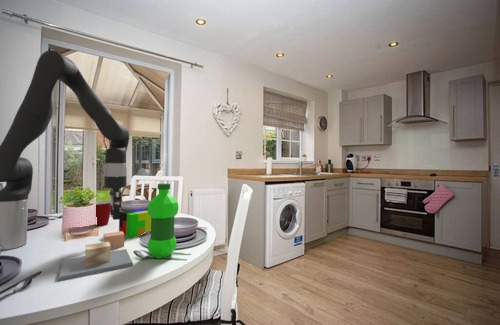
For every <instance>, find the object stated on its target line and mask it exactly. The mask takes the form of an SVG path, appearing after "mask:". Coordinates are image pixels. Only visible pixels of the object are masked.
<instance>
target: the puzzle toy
mask: <svg viewBox="0 0 500 325" xmlns="http://www.w3.org/2000/svg"><path fill="white" fill-rule="evenodd" d="M149 230H151V217H150V216H149V215H148V211H147V210H146V209H143V208H137V209H129V210H123V211H121V210H120V219H118V232H120V231H122V232H123V233H124V237H126V236H127V238H130V239H132V238H131V237H133V238H136V237H135V236H137V237H140V235H141V234H143V233H144V232H147V231H149ZM141 236H142V235H141Z"/></svg>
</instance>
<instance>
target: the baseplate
mask: <svg viewBox="0 0 500 325" xmlns="http://www.w3.org/2000/svg"><path fill="white" fill-rule="evenodd" d="M133 264H134V263H133V260H132V258H131V256H130V254H129V252H128V250H127V248H125V249H117V250H110V262H104V263H99V264H94V265H88V266H85V255H82V256H76V257H71V258H70V257H69V258H64V259H62V260H61V266H60V271H59V276H58V281H59V282H60V281H64V280H69V279H74V278H75V279H76V278H79V277H83V276H84V277H85V276H89V275H93V274H98V273H104V272H107V271H112V270H113V271H114V270H117V269H123V268H128V267H133Z"/></svg>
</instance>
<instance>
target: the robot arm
mask: <svg viewBox="0 0 500 325" xmlns="http://www.w3.org/2000/svg"><path fill="white" fill-rule="evenodd" d="M57 81H60V82H62V83H63V84H65V85H66V87H68V88H69V89H70V90H72V92H73V93H74V95H75V96H76V98H77V100H78V102H79V105H80V106H81V108H82V109H83V110H84V112H85V113H86V114H87V115H88V116H89V118H90V119H91V120H92V121H93V122H94V123H95V125H96V127H97V129H98V130H99V132H100V133H101V135H102V136H103V137H104V138H106V139H107V140H108V141H110V144H109V148H107V149H106V150H105V160H104V161H105V162H104V163H105V164H104V175H103V176H104V177H103V182H104V184H103V187H104V188H105V189H109V193H108V196H109V199H108V201H109V202H110V206H111V213H110V216H112V220H113V221H117V220H119V219H120V212H121V209H122V206H123V205H122V202H123V201H122V195H123V194H122V193H123V192H122V191H121V190H120V189H121V188H122V189H123V188H126V187H127V178H128V168H127V152H128V147H129V143H130V131H129V129H128V128H127V127H126V126H124V125H123V124H120V123H119V122H117V120H116V119H115V117H113V113H112V111H111V110H110V109H109V107H107V106H106V104H105V103H104V102H103V101H102V99H101V98H100V97H99V96H98V95H97V94H96V93H95V91H94V90H93V89H92V87H91V86H90V85H89V83H88V82H87V81H86V79H85V77H84V76H83V74H82V72H81V71H80V69H79V68H78V66H77V65H76V64H75V62H74V61H73V60H71V58H69V57H67V56H65V55H64V54H62V53H60V52H59V51H57V50H52V49H51V50H50V49H49V50H46V51H44V52H42V54H41V55H40V56H39V58H38V60H37V63H36V66H35V68H34V72H33V75H32V78H31V82H30V84H29V86H28V89H27V90H26V92H25V96H24V98H23V100H22V102H21V104H20V106H19V108H18V109H17V111H16V114H15V115H14V118H13V121H12V123H11V125H10V127H9V129H8V131H7V133H6V134H5V137H4V139H3V141H2V142H1V144H0V183H5V186H3V188H2V189H0V247H1V248H2V249H1V250H0V251H5V250H12V249H17V248H20V247H23V246H25V245H27V239H28V238H27V237H28V212H29V211H28V210H29V209H28V208H29V207H28V206H29V196H30V193H31V191H32V185H33V174H34V171H33V170H34V169H33V164H32V162H31V161H30V160H29V159H27V158H25V157H21V156H22V154H23V152H24V150H25V149H26V148H27V147H28V146H29V145H30V144H31V143H33V142H34V141H35V140H37V139H38V138H39V137H40V136H42V135H43V134H44V132H46V130H47V128H48V126H49V125H50V124H49V123H51V120H52V117H53V115H54V114H53V113H54V106H53V92H54V88H55V86H56V84H57Z"/></svg>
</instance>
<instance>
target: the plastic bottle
mask: <svg viewBox="0 0 500 325" xmlns="http://www.w3.org/2000/svg"><path fill="white" fill-rule="evenodd" d="M157 190H158V194H157V195H155V196H154V197H153V198H152V199H151V200H150V201H149V202H148V204H147V211H148V215H149V216H150V217H151V233H150V238H149V239H148V242H147V251H148V253H149V254H151V255H152V256H153V257H154V258H156V259H163V258H162V257H165V258H168V257H170V255H171V254H172V253H173V252H175V251H176V249H177V239H176V236H175V217H176V215H177V214H178V212H179V202H178V200H177V199H176V198H175V197H174V196H172V195H171V194H170V193H169V190H171V183H158V184H157ZM167 256H168V257H167Z"/></svg>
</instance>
